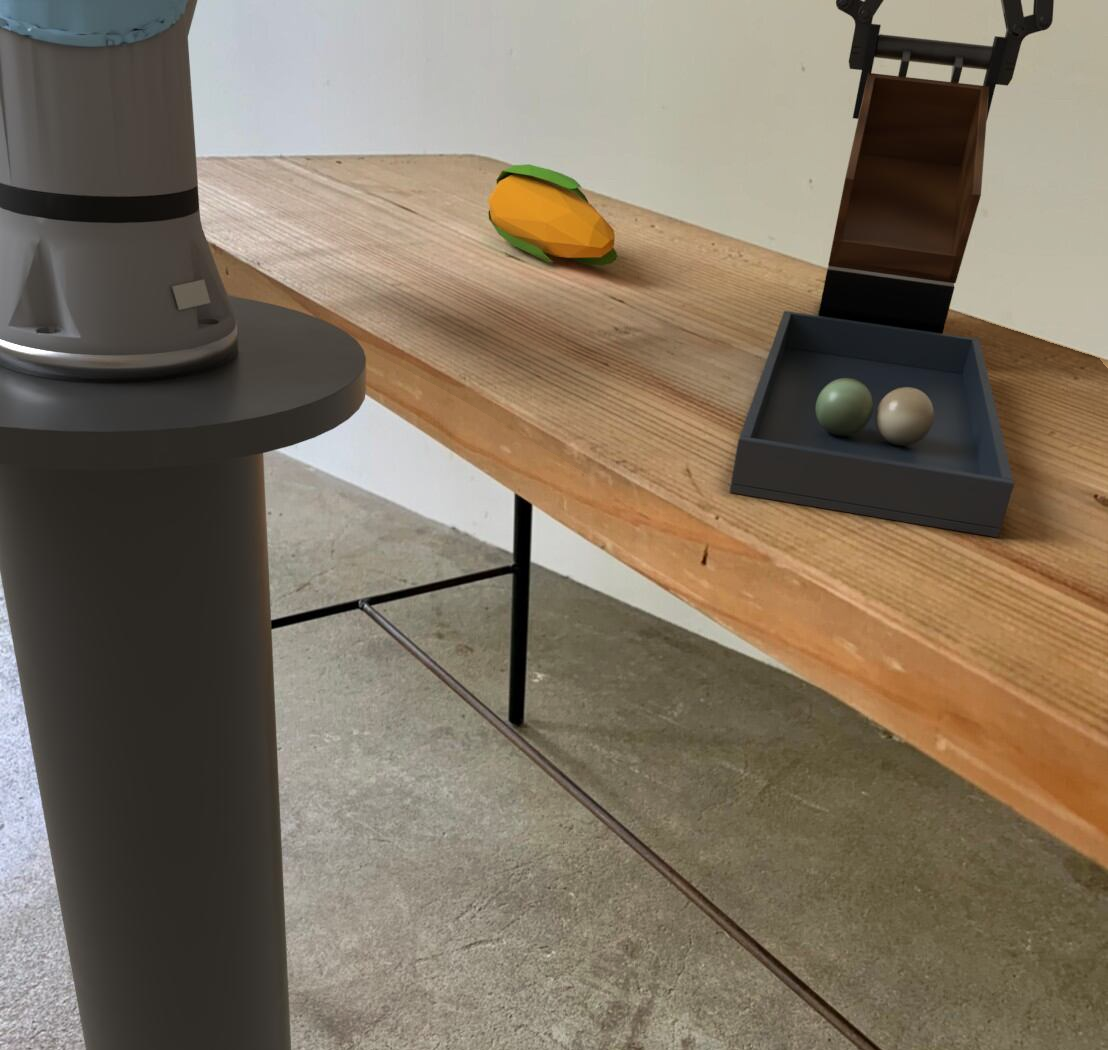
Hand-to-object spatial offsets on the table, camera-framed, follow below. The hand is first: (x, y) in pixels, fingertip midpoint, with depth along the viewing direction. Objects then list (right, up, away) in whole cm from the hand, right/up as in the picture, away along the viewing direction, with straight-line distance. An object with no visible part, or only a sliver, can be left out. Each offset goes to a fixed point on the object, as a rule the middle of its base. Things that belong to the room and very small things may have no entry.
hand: (917, 123), depth 97 cm
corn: (-29, -5, +15) cm, 33 cm away
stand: (-3, -17, +1) cm, 17 cm away
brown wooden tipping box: (-2, -8, -3) cm, 9 cm away
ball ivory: (-8, -30, -25) cm, 40 cm away
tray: (-9, -30, -20) cm, 37 cm away
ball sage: (-12, -30, -24) cm, 40 cm away
